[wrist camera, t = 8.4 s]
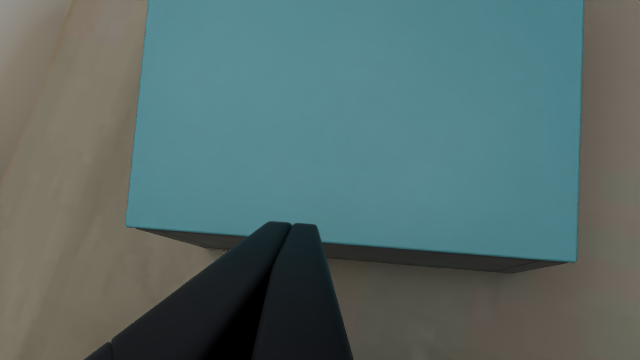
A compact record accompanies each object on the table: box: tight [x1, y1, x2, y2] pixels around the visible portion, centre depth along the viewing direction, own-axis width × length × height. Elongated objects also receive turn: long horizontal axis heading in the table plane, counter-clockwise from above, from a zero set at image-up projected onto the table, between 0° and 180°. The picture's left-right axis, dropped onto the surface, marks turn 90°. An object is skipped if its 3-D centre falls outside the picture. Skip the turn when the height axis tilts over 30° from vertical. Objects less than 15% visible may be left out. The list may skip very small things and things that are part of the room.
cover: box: [125, 0, 584, 263], centre depth 15 cm, size 14×14×1 cm
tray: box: [136, 228, 568, 273], centre depth 20 cm, size 14×14×6 cm
